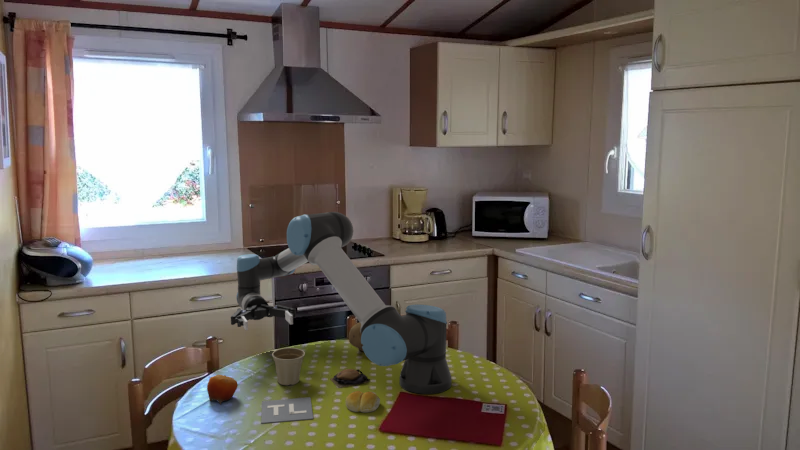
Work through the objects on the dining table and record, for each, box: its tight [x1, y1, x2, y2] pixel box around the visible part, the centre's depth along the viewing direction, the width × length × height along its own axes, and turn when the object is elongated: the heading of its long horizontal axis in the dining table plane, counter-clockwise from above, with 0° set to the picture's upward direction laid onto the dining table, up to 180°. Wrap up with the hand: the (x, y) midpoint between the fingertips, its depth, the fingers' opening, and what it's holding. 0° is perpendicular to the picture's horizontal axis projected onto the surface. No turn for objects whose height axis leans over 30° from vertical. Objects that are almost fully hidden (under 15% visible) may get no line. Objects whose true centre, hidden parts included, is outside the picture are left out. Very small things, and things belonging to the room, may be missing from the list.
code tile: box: [260, 396, 314, 424], centre depth 162 cm, size 13×13×1 cm
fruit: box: [206, 374, 239, 406], centre depth 168 cm, size 8×8×8 cm
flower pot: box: [271, 347, 306, 386], centre depth 180 cm, size 9×9×9 cm
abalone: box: [330, 368, 371, 389], centre depth 182 cm, size 11×8×4 cm
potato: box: [348, 321, 364, 352], centre depth 206 cm, size 9×9×10 cm
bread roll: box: [345, 390, 381, 414], centre depth 164 cm, size 8×9×4 cm
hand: (269, 323), depth 185 cm, fingers open, 13 cm apart
